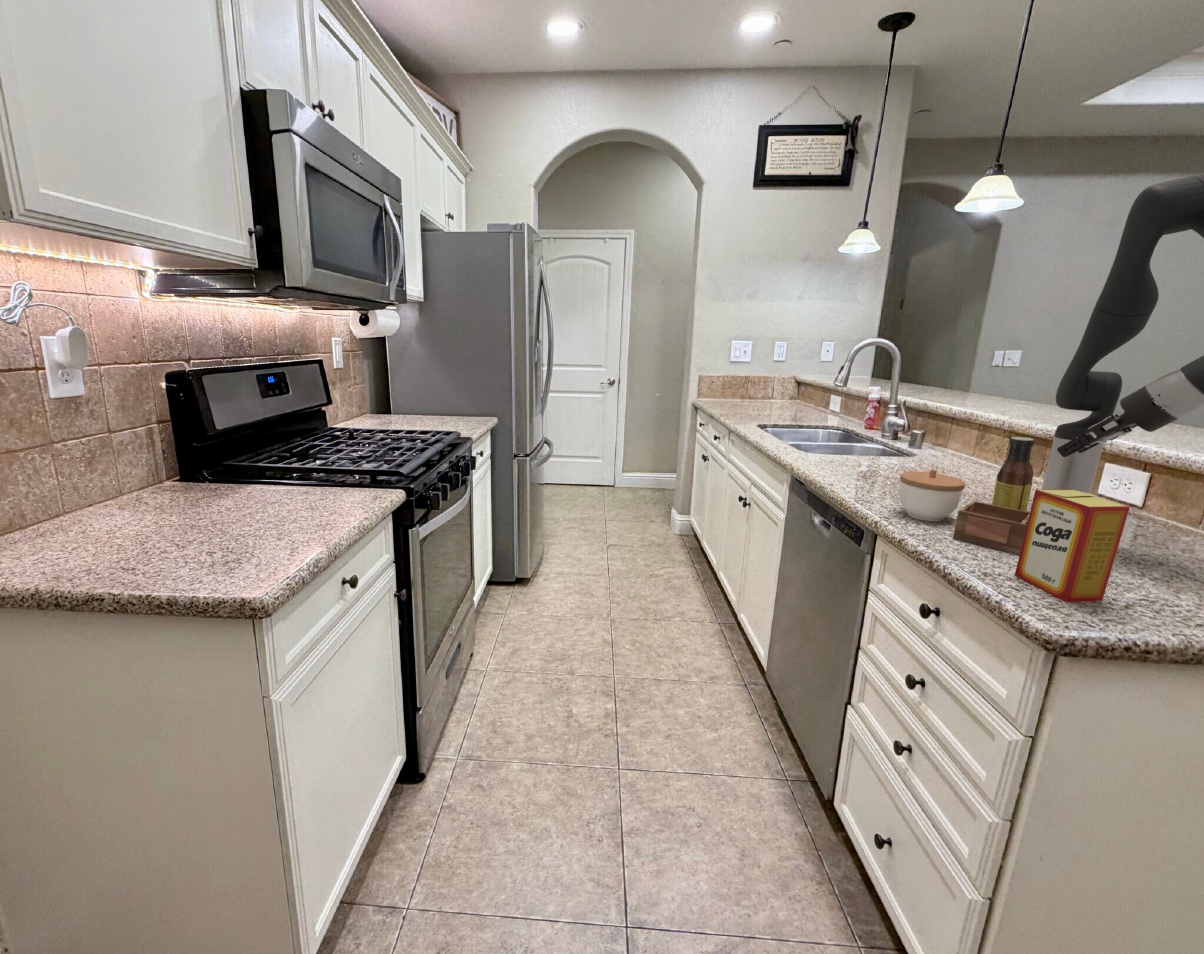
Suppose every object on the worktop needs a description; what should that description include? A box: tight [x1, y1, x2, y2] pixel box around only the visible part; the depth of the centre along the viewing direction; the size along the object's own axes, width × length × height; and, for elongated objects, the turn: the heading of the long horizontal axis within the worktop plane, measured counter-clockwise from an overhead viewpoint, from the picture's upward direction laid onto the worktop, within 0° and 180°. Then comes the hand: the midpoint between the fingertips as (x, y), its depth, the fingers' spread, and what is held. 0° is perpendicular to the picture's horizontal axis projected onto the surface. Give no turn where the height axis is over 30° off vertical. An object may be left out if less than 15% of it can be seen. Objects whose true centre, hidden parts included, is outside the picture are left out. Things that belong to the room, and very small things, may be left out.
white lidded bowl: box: [898, 468, 966, 522], centre depth 123 cm, size 13×13×11 cm
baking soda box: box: [1014, 489, 1131, 603], centre depth 88 cm, size 10×6×16 cm
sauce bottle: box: [991, 436, 1035, 512], centre depth 116 cm, size 6×6×20 cm
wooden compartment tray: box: [952, 500, 1030, 556], centre depth 106 cm, size 11×21×6 cm, turn 43°
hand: (1068, 451), depth 108 cm, fingers open, 8 cm apart
